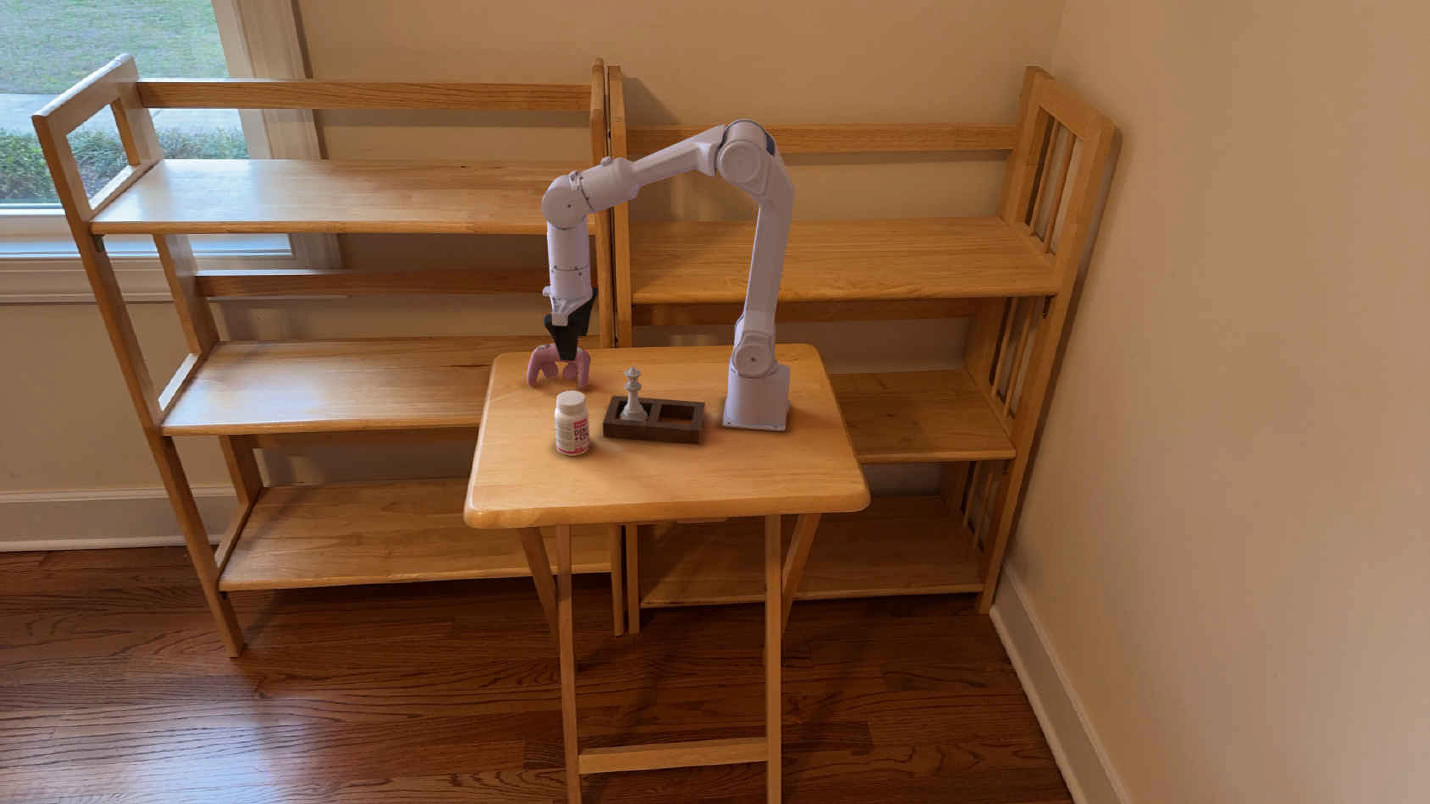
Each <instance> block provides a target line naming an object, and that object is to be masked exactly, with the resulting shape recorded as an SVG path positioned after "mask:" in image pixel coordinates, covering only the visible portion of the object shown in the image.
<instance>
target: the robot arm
mask: <svg viewBox="0 0 1430 804" xmlns="http://www.w3.org/2000/svg"><path fill="white" fill-rule="evenodd" d="M694 170H695V171H698V172H700V173H702V174H704V175H706V176H709V177H710V178H714V179H715V178H716V175H717V170H718V172H719V175H720V176H721V177H722V178H723V179H724V180H725V181H726V182H727V183H729V184H730V185H732V186H734V187H735V188H737V189H739V190H741V191H742V192H745V193H746V194H748V195H749V196H750V197H751V198H752V199H753V200H754V201H755V202H756V203H757V204H758V205H759V207H758V215H757V221H756V228H755V235H754V241H753V249H752V255H751V261H750V267H749V274H748V282H747V288H746V296H745V300H744V301H745V302H744V307H743V311H742V314H741V316H739V318H738V319H737V321H736V323H735V325H734V342H733V349H732V352H731V357H729V360H728V377H727V381H728V382H727V397H725V405H724V411H723V417H722V421H721V422H722V423H721V426H722V427H724V428H733V429H734V428H735V429H745V430H746V429H747V430H757V431H758V430H760V431H773V432H786V427H787V415H788V413H789V412H790V405H791V399H789V395H790V394H789V393H790V379H791V366H790V365H785V364H782V363H779V361H778V359H777V358H776V356H777V355H776V352H775V351H776V337H777V325H776V323H775V318H776V313H777V305H778V299H779V294H780V287H781V283H782V275H783V269H784V263H785V258H786V251H787V246H788V240H789V235H790V228H791V221H792V217H793V210H794V204H795V197H796V196H795V195H796V194H795V193H796V191H795V190H796V189H795V185H794V181H793V179H792V177H791V175H790V172H789V171H788V168H787V166H786V163H785V162H784V160H783V158H782V155H781V153H780V151H779V148H778V146H777V143H776V139H775V138H774V136H773V135H771V134H770V132H769V131H768V130H766V129H765V128H764V127H763V126H762V125H761V124H760V123H759V122H757V121H756V120H753V119H749V118H741V119H737V120H734V121H733V122H731V123H729V124H728V125H727V124H725V123H724V124H719V125H716V126H713V127H711V128H709V129H706V130H704V131H702V132H700V133H697V134H695V135H693V136H691V137H688V138H686V139H684V140H681V141H679V142H677V143H675V144H672V145H670V146H667V147H665V148H663V149H661V150H658V151H656V152H654V153H651V154H649V155H647V156H645V157H642V158H639V159H637V160H636V161H632V160H629V159H627V158H624V157H617V158H614V159H613V157H612V156H610V155H608V156H606V157H603V158H602V159H601V160H600V164H598V165H596V166H592V167H591V168H587V169H586V170H585V169H584V170H582V171H580V172H579V171H578V170H577V169H576V170H572V171H571V172H570V173H569V174H564V175H560V176H558V177H556V178H555V179H554V180H553V181H552V182H551V184H550V185H549V187H548V188H547V190H546V191H545V193H544V194H543V197H542V200H541V203H540V208H541V213H542V216H543V217H544V219H545V220H546V227H547V233H546V238H547V239H546V240H547V251H548V252H547V253H548V266H549V267H548V268H549V284H550V285H547V286H544V288H543V290H542V295H543V296H544V297H549V298H550V303H551V308H552V311H551V313H546V314H545V316H544V318H543V319H542V321H543V326H544V328H545V329H546V330H547V331H548V333H549V334H550V336H551V338H552V340H553V342H554V343H555V345H556V348H557V351H558V354H559V357H560V359H561V360H566V361H574V360H575V358H576V354H577V347H578V348H579V346H578V344H579V337H587V335H588V331H589V327H590V320H591V315H592V310H593V306H594V304H595V300H596V298H597V296H598V294H599V288H598V287H595V286H592V281H591V279H592V278H591V259H590V237H589V235H590V233H589V229H588V215H590V214H591V215H593V214H596V213H600V212H602V211H605V210H607V209H610V208H613V207H615V206H618V205H620V204H623V203H627V202H629V201H631V200H634V199H636V198H637V197H638V195H639V192H640V189H641V187H643V186H646V185H649V184H653V183H655V182H658V181H662V180H665V179H668V178H671V177H676V176H678V175H681V174H684V173H688V172H690V171H694Z"/></svg>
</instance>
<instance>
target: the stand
mask: <svg viewBox="0 0 1430 804" xmlns="http://www.w3.org/2000/svg"><path fill="white" fill-rule="evenodd" d="M628 398H629V395H627V396H626V395H611V399H610V401H609V404H608V407H607V410H606V412H605V415H604V419H603V421H602V437H603V438H610V439H622V440H623V439H624V440H625V439H626V440H637V441H649V442H661V443H674V444H687V445H700V443H701V437H702V431H703V427H704V422H705V417H706V402H704V401H695V400H694V401H693V400H682V399H681V400H680V399H679V400H678V399H665V398H653V397H652V398H651V397H641V396H638V399H639V403H640V405H641V406H642V407H643V410H644V411H645V412H646V413H647V414H648V422H647V421H636V420H623V419H619V416H620V414H621V412H622V411H623V410H624V407H625V406H626V405H627V404H628ZM662 419H674V420H675V419H676V420H687V421H691V424H686V423H674V422H662Z"/></svg>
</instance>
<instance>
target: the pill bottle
mask: <svg viewBox="0 0 1430 804" xmlns="http://www.w3.org/2000/svg"><path fill="white" fill-rule="evenodd" d="M586 405H587V402H586V396H585V394H584V393H582V392H580V391H578V390H566V391H561V392H560V393H559V394H558V395H557V396H556V408H555V410H554V425H555V426H554V427H555V446H556V449H557V451H558V452H559V453H560V454H562V455H565V456H571V457H575V456H576V457H577V456H579V455H582V454H584V453H586V452H587V451H588V450H589V448H590V421H589V419H590V417H589V409H588V407H587V406H586Z"/></svg>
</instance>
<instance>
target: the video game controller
mask: <svg viewBox="0 0 1430 804" xmlns="http://www.w3.org/2000/svg"><path fill="white" fill-rule="evenodd" d="M591 360H592V359H591V355H590V353H589V352H588V351H587V350H585V349H584V348H583V349H582V348H580V347H579V346H578V347H577V354H576V358H575V360H574V361H566V360H561V359H560V357H559V354H558V351H557V348H556V345H555V342H554V343H553V342H552V343H547V344H541V345H539V346H538V347H536V348H535V349H534V350H533V351H532V353H531V355H530V358H529V362H528V366H527V372H526V383H527V385H528V386H530V387H532V386H533V385H534V384H535V383H536V381H537V379H538V376H539V374H540V371H542V373H543V375H544V377H546V378H547V379H553V378H557V376H558V374H559V367H558V365H557V364H556V363H557V362H559V363H565V364H566V365H565V366H564V368H563V369H562V376H563V378H564V379H565V380H568V381H572V380H575V379H576V378H577V377H578V378H577V379H578V380H577V383H578V387H579V389H580V390H582V391H583V390H585V389H586V387H587V385H588V382H589V376H590V370H591V369H590V365H591V362H592V361H591Z"/></svg>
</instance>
